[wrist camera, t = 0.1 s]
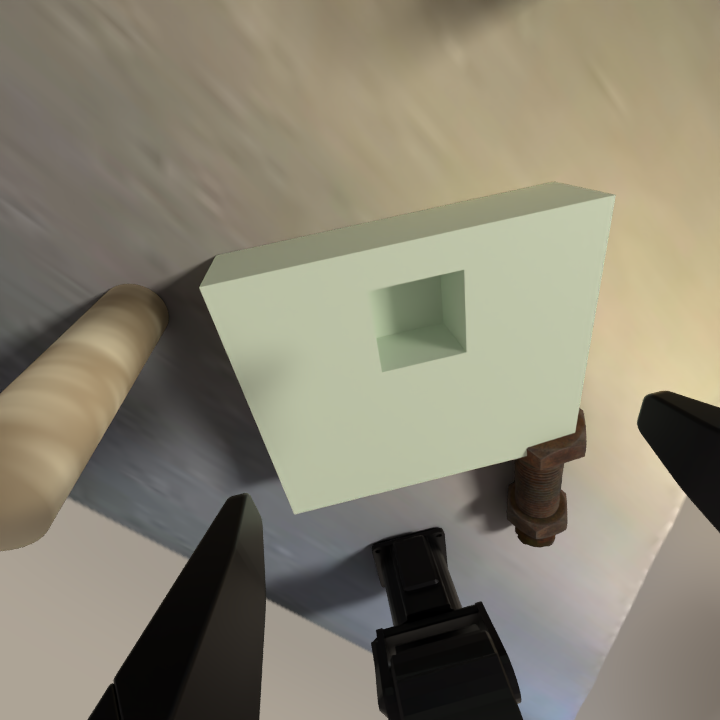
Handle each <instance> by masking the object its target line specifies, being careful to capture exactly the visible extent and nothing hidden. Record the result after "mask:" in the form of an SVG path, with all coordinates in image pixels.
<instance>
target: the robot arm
mask: <svg viewBox="0 0 720 720" xmlns="http://www.w3.org/2000/svg"><path fill="white" fill-rule="evenodd" d="M637 425H638V429H639V431H640V433H641V434H642V435H643V437H644V438H645V440H646V441H647V442H648V444H649V445H650V446H651V448H652V449H653V451H654V452H655V453H656V455H657V456H658V457H659V459H660V460H661V462H662V463H663V464H664V466H665V467H666V468H667V470H668V471H669V473H670V474H671V475H672V477H673V478H674V480H675V481H676V482H677V483H678V485H679V486H680V487H681V489H682V490H683V491H684V492H685V494H686V495H687V496H688V497H689V498H690V500H691V501H692V502H693V503H694V504H695V505H696V506H697V508H698V509H699V510H700V511H701V512H702V513H703V514H704V516H705V517H706V518H707V519H708V520H709V521H710V522H711V524H712V525H713V526H714V527H715V528H716V529H717V530H718V531H719V533H720V408H719V407H716V406H713V405H710V404H707V403H704V402H701V401H698V400H695V399H691V398H688V397H685V396H682V395H679V394H676V393H673V392H670V391H659V392H655V393H651V394H648V395H646V396H645V397H644V399H643V402H642V406H641V409H640V413H639V416H638V420H637ZM372 553H373V556H374V560H375V564H376V568H377V571H378V575H379V579H380V582H381V586H382V587H385V588H386V593H387V597H388V602H389V607H390V611H391V616H392V621H393V625H394V627H390V628H386V629H383V628H381V629H377V630H376V633H377V638H376V639H375V640H374V641H373V642H372V643H371V646H372V652H373V658H374V664H375V673H376V685H377V696H378V705H379V710H380V711H381V712H382V713H383V714H384V715H385V716H386V717H387V718H388V720H523V718H522V715H521V712H520V710H519V707H518V705H517V704H518V703H521V694H520V690H519V686H518V682H517V679H516V676H515V673H514V670H513V667H512V665H511V662H510V660H509V657H508V655H507V653H506V650H505V648H504V646H503V644H502V642H501V640H500V638H499V636H498V634H497V632H496V630H495V628H494V626H493V624H492V622H491V620H490V618H489V616H488V614H487V612H486V610H485V608H484V605H483V603H482V602H477V603H475V605H471V606H467V607H464V608H462V606H461V603H460V601H459V598H458V595H457V592H456V590H455V587H454V584H453V581H452V578H451V576H450V573H449V570H448V566H447V555H446V544H445V534H444V531H443V529H442V528H436V529H432V530H429V531H425V532H421V533H417V534H413V535H409V536H405V537H401V538H397V539H393V540H390V541H386V542H382V543H378V544H375V545H373V546H372ZM265 611H266V584H265V564H264V544H263V525H262V519H261V516H260V514H259V512H258V510H257V508H256V506H255V504H254V502H253V500H252V498H251V496H250V495H249V494H248V493H243V494H239V495H235V496H231V497H229V498H228V499H227V500H226V502H225V504H224V505H223V507H222V508H221V510H220V511H219V513H218V515H217V516H216V518H215V519H214V521H213V523H212V524H211V526H210V527H209V529H208V530H207V532H206V534H205V535H204V537H203V538H202V540H201V541H200V543H199V545H198V546H197V548H196V549H195V551H194V553H193V554H192V556H191V557H190V559H189V560H188V562H187V564H186V565H185V567H184V568H183V570H182V572H181V573H180V575H179V576H178V578H177V579H176V581H175V583H174V584H173V586H172V588H171V589H170V591H169V592H168V594H167V595H166V597H165V599H164V600H163V602H162V603H161V605H160V606H159V608H158V610H157V611H156V613H155V614H154V616H153V617H152V619H151V621H150V622H149V624H148V625H147V627H146V629H145V630H144V632H143V633H142V635H141V636H140V638H139V640H138V641H137V643H136V644H135V646H134V647H133V649H132V651H131V653H130V654H129V656H128V657H127V659H126V660H125V662H124V663H123V665H122V666H121V668H120V670H119V671H118V673H117V674H116V676H115V678H114V684H113V683H112V684H110V685H109V687H108V688H107V690H106V691H105V693H104V695H103V696H102V698H101V699H100V701H99V703H98V704H97V706H96V707H95V709H94V710H93V712H92V714H91V715H90V717H89V718H88V720H259V714H260V697H261V680H262V662H263V644H264V628H265Z"/></svg>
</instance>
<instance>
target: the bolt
mask: <svg viewBox="0 0 720 720" xmlns="http://www.w3.org/2000/svg"><path fill="white" fill-rule="evenodd" d="M585 452H586V425H585V418H584V413H583V410H582V409H580V408H579V413H578V419H577V424H576V430H575V433H572V434H569V435H566V436H563V437H560V438H557V439H553V440H550V441H546V442H543V443H540V444H537V445H534V446H531V447H528V448H527V456H525V457H521V458H517V459H515V482H514V483H512V484H511V485H509V488H508V502H507V519H508V520H509V521H510V522H511V523H512V524H513V525H514V526H515V532H516V533H517V534H518V536H517V537H518V538H519V540H520V541H521V542H522V543H523V544H527V545H530V546H533V547H544V546H550V545H552V544H553V542H554V540H555V535H556V534H559V533H561V532H563V531H564V530H566V528H567V498H566V493H565V492H563V491H562V490H561V483H562V474H563V468H564V463H566V462H569V461H572V460H575V459H578V458H581V457H585Z"/></svg>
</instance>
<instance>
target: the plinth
mask: <svg viewBox="0 0 720 720" xmlns="http://www.w3.org/2000/svg"><path fill="white" fill-rule="evenodd" d="M615 196H616V195H613V194H609V193H604V192H600V191H595V190H591V189H586V188H582V187H577V186H573V185H568V184H564V183H559V182H551V183H546V184H541V185H537V186H532V187H528V188H523V189H519V190H514V191H509V192H505V193H500V194H496V195H491V196H487V197H482V198H477V199H473V200H468V201H464V202H459V203H454V204H450V205H445V206H441V207H436V208H432V209H427V210H422V211H418V212H413V213H409V214H404V215H400V216H395V217H390V218H386V219H381V220H377V221H372V222H368V223H363V224H358V225H354V226H349V227H345V228H340V229H335V230H331V231H326V232H322V233H317V234H313V235H308V236H303V237H299V238H294V239H290V240H285V241H281V242H276V243H271V244H267V245H262V246H258V247H253V248H249V249H244V250H239V251H235V252H230V253H226V254H221V255H216V256H215V258H214V260H213V262H212V264H211V266H210V268H209V270H208V272H207V273H206V275H205V277H204V279H203V281H202V283H201V285H200V287H199V288H200V291H201V293H202V295H203V298H204V300H205V303H206V305H207V307H208V310H209V312H210V314H211V317H212V319H213V322H214V324H215V326H216V329H217V331H218V333H219V336H220V338H221V341H222V343H223V345H224V348H225V350H226V353H227V355H228V357H229V360H230V362H231V364H232V367H233V369H234V372H235V374H236V376H237V379H238V381H239V384H240V386H241V388H242V391H243V393H244V395H245V398H246V400H247V403H248V405H249V407H250V410H251V412H252V414H253V417H254V419H255V422H256V424H257V426H258V429H259V431H260V434H261V436H262V438H263V441H264V443H265V445H266V448H267V450H268V453H269V455H270V457H271V460H272V462H273V464H274V467H275V469H276V472H277V474H278V476H279V479H280V481H281V484H282V486H283V488H284V491H285V493H286V495H287V498H288V500H289V503H290V505H291V507H292V510H293V512H294V514H298V513H302V512H306V511H310V510H314V509H318V508H322V507H326V506H330V505H334V504H338V503H342V502H346V501H350V500H354V499H358V498H362V497H366V496H370V495H374V494H378V493H382V492H386V491H390V490H394V489H398V488H402V487H406V486H410V485H414V484H418V483H422V482H426V481H430V480H434V479H438V478H442V477H446V476H450V475H454V474H457V473H461V472H465V471H469V470H473V469H477V468H481V467H485V466H489V465H493V464H497V463H501V462H505V461H509V460H513V459H517V458H521V457H525V456H527V448H528V447H531V446H534V445H537V444H540V443H543V442H546V441H550V440H553V439H557V438H560V437H563V436H566V435H569V434H572V433H575V430H576V424H577V419H578V413H579V407H580V401H581V395H582V389H583V383H584V378H585V372H586V366H587V360H588V354H589V348H590V342H591V337H592V331H593V325H594V319H595V313H596V307H597V301H598V296H599V290H600V284H601V278H602V272H603V266H604V261H605V255H606V249H607V243H608V237H609V231H610V225H611V220H612V214H613V208H614V202H615Z"/></svg>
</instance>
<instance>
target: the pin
mask: <svg viewBox="0 0 720 720" xmlns="http://www.w3.org/2000/svg"><path fill="white" fill-rule="evenodd" d="M168 321H169V314H168V310H167V307H166V305H165V303H164V302H163V300H162V299H161V298H160V297H159V296H158V295H157V294H156V293H154V292H153V291H151V290H150V289H148V288H145V287H143V286H140V285H135V284H122V285H118V286H115V287H113V288H112V289H110V290H109V291H108V292H107V293H106V294H105V295H104V296H102V297H101V298H100V299H99V300H98V301H97V302H96V303H95V304H94V305H93V306H92V307H91V308H90V309H89V310H88V311H87V312H86V313H85V314H84V315H82V316H81V317H80V318H79V319H78V320H77V321H76V322H75V323H74V324H73V325H72V326H71V327H70V328H69V329H68V330H67V331H66V332H65V333H64V334H62V335H61V336H60V337H59V338H58V339H57V340H56V341H55V342H54V343H53V344H52V345H51V346H50V347H49V348H48V349H47V350H46V351H45V352H44V353H43V354H41V355H40V356H39V357H38V358H37V359H36V360H35V361H34V362H33V363H32V364H31V365H30V366H29V367H28V368H27V369H26V370H25V371H24V372H23V373H21V374H20V375H19V376H18V377H17V378H16V379H15V380H14V381H13V382H12V383H11V384H10V385H9V386H8V387H7V388H6V389H5V390H4V391H3V392H1V393H0V551H6V550H13V549H18V548H21V547H25V546H27V545H30V544H32V543H34V542H36V541H38V540H39V539H40V538H41V537H43V536H44V535H45V534H46V532H47V531H48V529H49V528H50V526H51V524H52V523H53V521H54V519H55V517H56V515H57V514H58V512H59V510H60V509H61V507H62V505H63V504H64V502H65V500H66V499H67V497H68V495H69V493H70V492H71V490H72V488H73V487H74V485H75V483H76V481H77V480H78V478H79V476H80V475H81V473H82V471H83V469H84V468H85V466H86V464H87V463H88V461H89V459H90V457H91V456H92V454H93V452H94V451H95V449H96V447H97V445H98V444H99V442H100V440H101V439H102V437H103V435H104V433H105V432H106V430H107V428H108V427H109V425H110V423H111V421H112V420H113V418H114V416H115V415H116V413H117V411H118V409H119V408H120V406H121V404H122V403H123V401H124V399H125V397H126V396H127V394H128V392H129V391H130V389H131V387H132V385H133V384H134V382H135V380H136V379H137V377H138V375H139V373H140V372H141V370H142V368H143V366H144V365H145V363H146V361H147V360H148V358H149V356H150V354H151V353H152V351H153V349H154V348H155V346H156V344H157V342H158V341H159V339H160V337H161V336H162V334H163V332H164V330H165V329H166V327H167V325H168Z"/></svg>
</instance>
